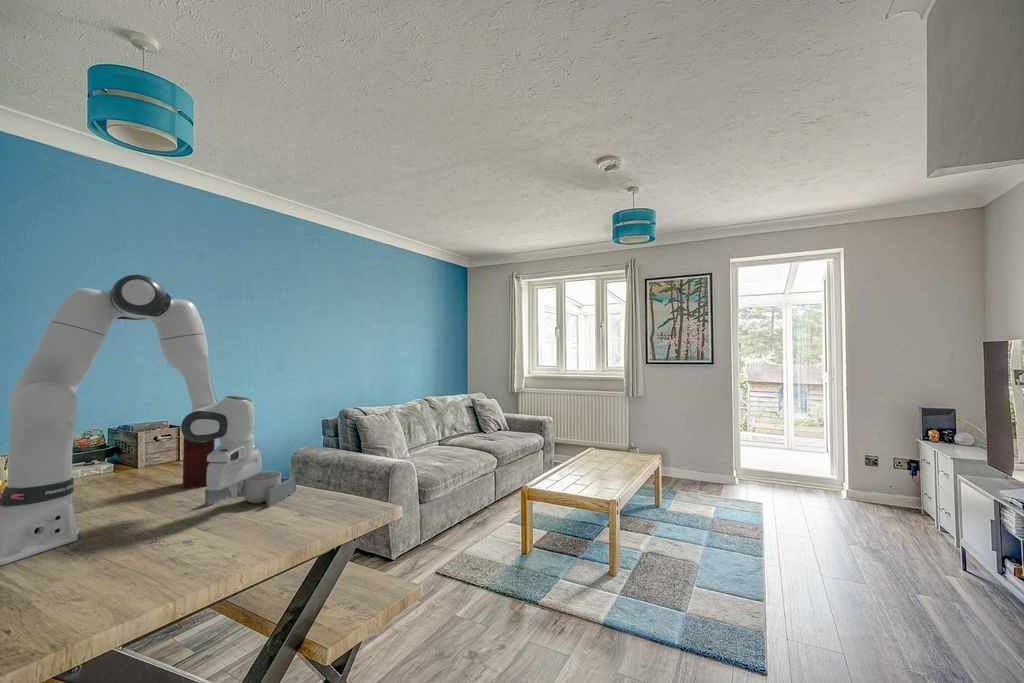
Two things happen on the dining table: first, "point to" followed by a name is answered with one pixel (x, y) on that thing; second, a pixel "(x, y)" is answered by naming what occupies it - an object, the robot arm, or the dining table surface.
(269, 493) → the box
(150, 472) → the dining table surface
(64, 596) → the dining table surface
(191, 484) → the dark red piece
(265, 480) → the teacup
